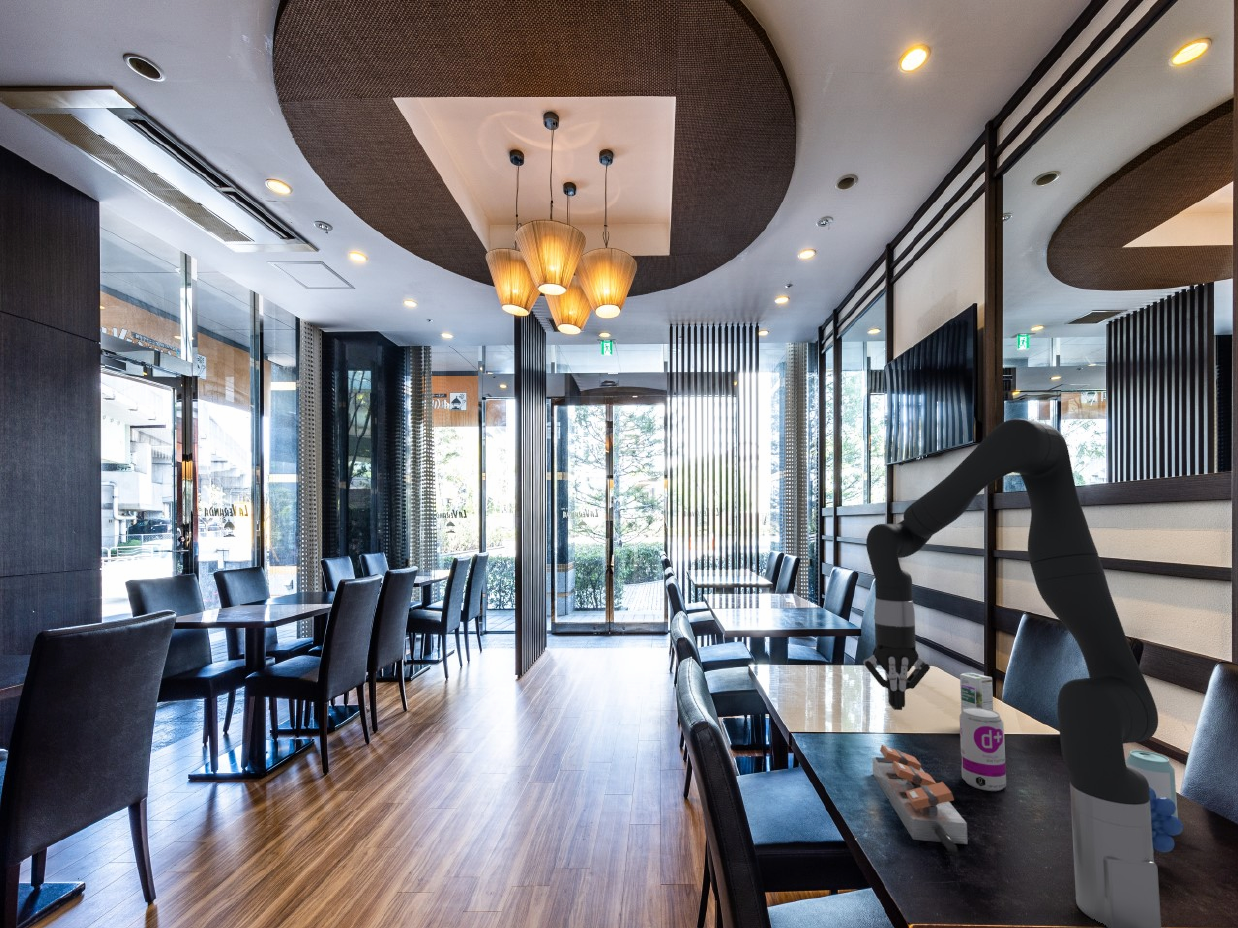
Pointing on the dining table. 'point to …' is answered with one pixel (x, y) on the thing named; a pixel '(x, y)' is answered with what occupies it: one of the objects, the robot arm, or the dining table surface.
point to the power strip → (920, 810)
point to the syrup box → (976, 691)
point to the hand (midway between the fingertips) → (897, 708)
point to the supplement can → (982, 749)
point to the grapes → (1163, 822)
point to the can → (1155, 773)
